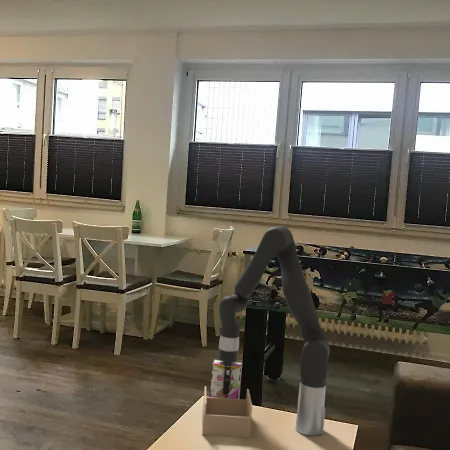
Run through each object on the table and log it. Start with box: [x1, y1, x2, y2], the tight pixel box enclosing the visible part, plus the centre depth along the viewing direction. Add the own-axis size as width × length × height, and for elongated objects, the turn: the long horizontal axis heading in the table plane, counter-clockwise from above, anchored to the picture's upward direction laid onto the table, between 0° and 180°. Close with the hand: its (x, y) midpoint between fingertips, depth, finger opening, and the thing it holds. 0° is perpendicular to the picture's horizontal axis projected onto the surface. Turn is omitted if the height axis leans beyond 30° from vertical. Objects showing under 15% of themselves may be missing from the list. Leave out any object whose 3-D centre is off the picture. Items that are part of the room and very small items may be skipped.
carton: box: [201, 385, 253, 439], centre depth 200 cm, size 16×16×11 cm
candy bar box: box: [209, 359, 243, 399], centre depth 215 cm, size 11×5×16 cm, turn 85°
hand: (225, 390), depth 216 cm, fingers closed on candy bar box, 5 cm apart
